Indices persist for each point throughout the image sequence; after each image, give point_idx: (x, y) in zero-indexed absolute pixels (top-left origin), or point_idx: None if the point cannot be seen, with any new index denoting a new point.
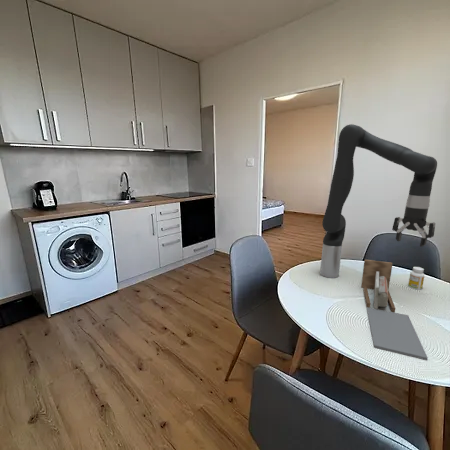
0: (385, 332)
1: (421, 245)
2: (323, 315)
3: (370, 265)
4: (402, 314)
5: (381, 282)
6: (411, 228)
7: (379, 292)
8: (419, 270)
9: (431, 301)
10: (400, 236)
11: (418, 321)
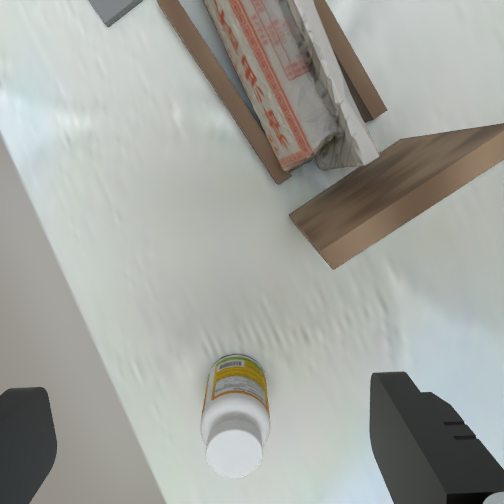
0: None
1: (9, 396)
2: None
3: (446, 153)
4: (121, 3)
5: (275, 21)
6: None
7: None
8: (217, 431)
9: (126, 290)
10: (402, 478)
11: (62, 29)
